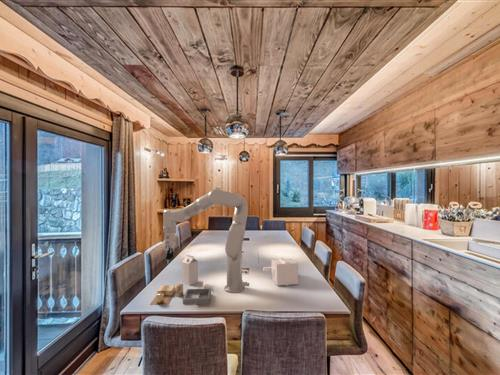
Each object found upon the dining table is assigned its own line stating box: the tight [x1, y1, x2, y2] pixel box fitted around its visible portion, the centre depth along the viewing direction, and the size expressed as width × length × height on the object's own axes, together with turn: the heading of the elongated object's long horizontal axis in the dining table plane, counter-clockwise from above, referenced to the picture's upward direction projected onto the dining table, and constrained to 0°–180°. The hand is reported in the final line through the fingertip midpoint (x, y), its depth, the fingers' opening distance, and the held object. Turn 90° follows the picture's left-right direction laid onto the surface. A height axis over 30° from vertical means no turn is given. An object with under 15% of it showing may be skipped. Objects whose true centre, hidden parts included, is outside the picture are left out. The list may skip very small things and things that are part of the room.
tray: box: [182, 287, 212, 306], centre depth 147 cm, size 14×14×4 cm
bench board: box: [149, 287, 176, 306], centre depth 150 cm, size 10×23×1 cm, turn 4°
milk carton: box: [181, 254, 199, 286], centre depth 171 cm, size 7×7×19 cm
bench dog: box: [156, 292, 164, 306], centre depth 141 cm, size 4×4×5 cm
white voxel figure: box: [262, 257, 299, 287], centre depth 180 cm, size 15×25×28 cm
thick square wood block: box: [156, 284, 176, 296], centre depth 154 cm, size 8×8×3 cm
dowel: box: [175, 283, 184, 297], centre depth 151 cm, size 4×4×7 cm
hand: (169, 258), depth 163 cm, fingers open, 3 cm apart
